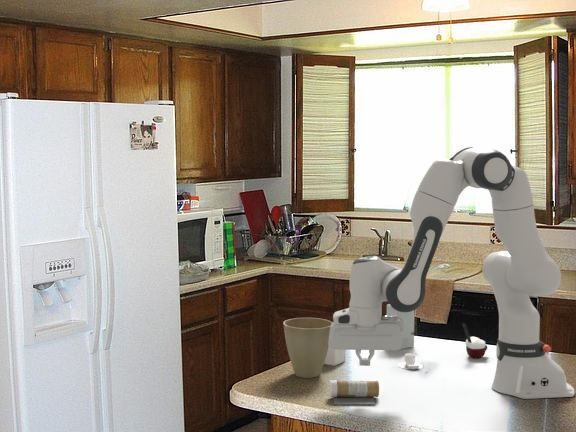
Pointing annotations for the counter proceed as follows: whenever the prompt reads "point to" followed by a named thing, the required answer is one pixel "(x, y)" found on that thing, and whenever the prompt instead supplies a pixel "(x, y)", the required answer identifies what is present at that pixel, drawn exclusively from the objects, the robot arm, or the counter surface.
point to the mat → (354, 401)
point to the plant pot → (307, 344)
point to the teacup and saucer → (410, 362)
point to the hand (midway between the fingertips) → (364, 365)
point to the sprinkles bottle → (353, 388)
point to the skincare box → (404, 325)
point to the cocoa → (474, 345)
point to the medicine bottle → (334, 357)
